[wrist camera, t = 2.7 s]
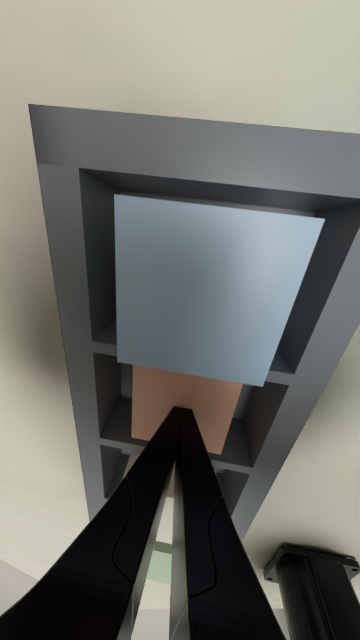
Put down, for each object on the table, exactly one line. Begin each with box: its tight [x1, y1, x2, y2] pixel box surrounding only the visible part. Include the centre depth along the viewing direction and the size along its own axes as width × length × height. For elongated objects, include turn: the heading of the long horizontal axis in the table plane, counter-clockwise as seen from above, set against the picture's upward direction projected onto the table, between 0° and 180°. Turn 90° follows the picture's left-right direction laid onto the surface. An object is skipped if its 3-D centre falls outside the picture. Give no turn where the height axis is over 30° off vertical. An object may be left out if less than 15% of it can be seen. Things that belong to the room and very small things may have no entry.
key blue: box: [114, 194, 325, 387], centre depth 6 cm, size 4×4×2 cm
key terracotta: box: [132, 365, 243, 455], centre depth 10 cm, size 4×4×2 cm
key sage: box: [146, 541, 172, 584], centre depth 13 cm, size 4×4×2 cm
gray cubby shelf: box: [28, 104, 360, 541], centre depth 11 cm, size 25×10×3 cm, turn 173°
